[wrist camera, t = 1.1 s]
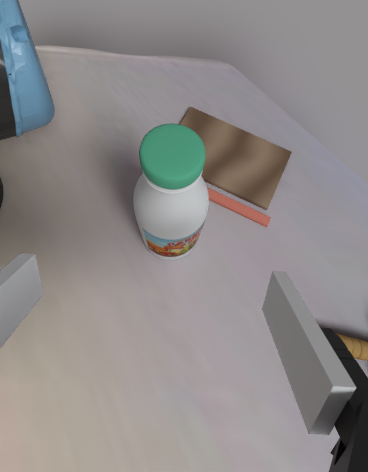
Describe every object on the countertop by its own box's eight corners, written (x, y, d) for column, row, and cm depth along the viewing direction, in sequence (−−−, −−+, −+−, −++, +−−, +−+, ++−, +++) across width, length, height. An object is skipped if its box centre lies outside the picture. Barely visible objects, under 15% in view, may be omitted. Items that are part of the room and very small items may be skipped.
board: (159, 159, 40) (159, 157, 39) (190, 109, 43) (190, 106, 42) (266, 210, 38) (267, 208, 38) (289, 154, 41) (291, 152, 41)
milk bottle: (132, 242, 36) (90, 161, 17) (162, 200, 38) (157, 85, 19) (178, 272, 35) (190, 224, 16) (207, 227, 37) (249, 137, 18)
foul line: (146, 169, 39) (145, 168, 39) (150, 162, 39) (150, 160, 39) (266, 226, 38) (267, 226, 37) (269, 218, 38) (270, 217, 38)
